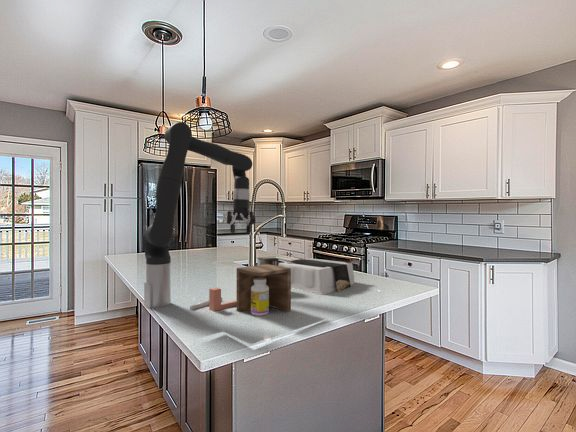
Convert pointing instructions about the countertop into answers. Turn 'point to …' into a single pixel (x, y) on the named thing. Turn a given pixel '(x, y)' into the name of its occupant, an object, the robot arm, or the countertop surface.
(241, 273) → the shelf
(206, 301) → the grey dowel
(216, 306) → the crook
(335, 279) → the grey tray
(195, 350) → the countertop surface
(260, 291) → the supplement bottle
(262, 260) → the coffee box
